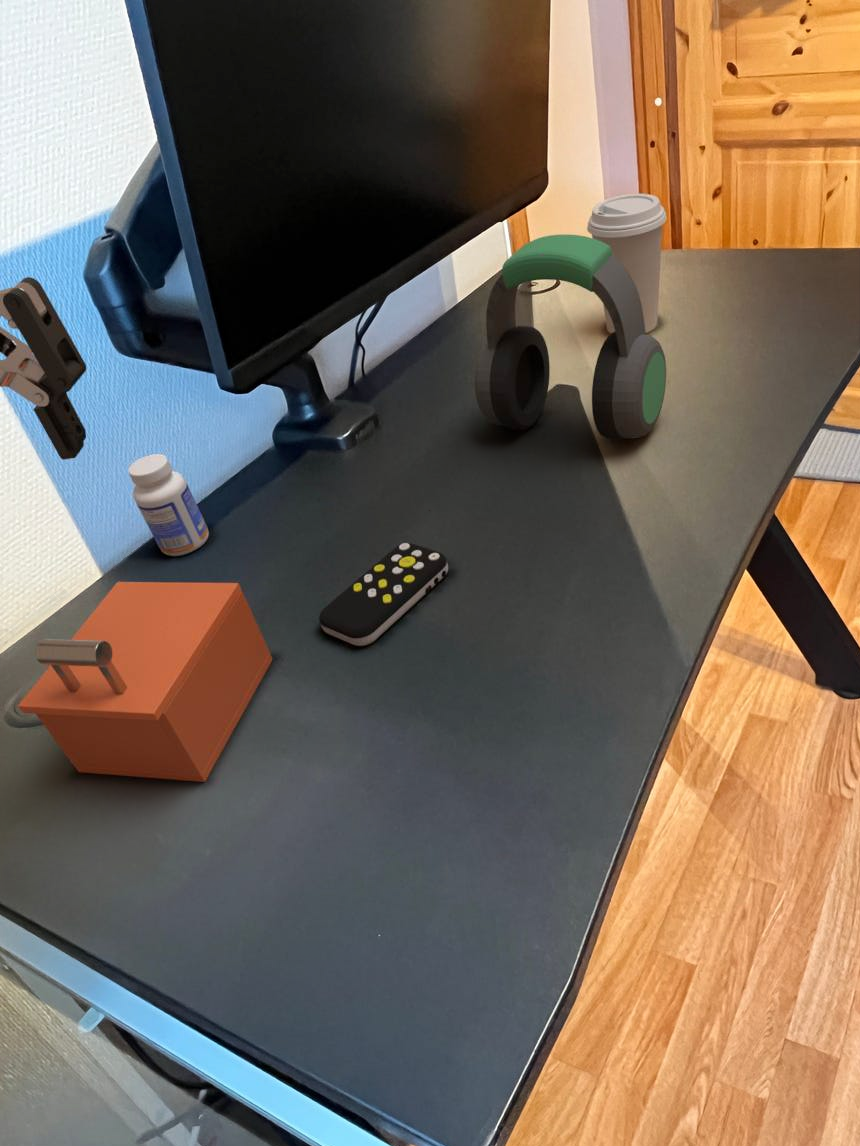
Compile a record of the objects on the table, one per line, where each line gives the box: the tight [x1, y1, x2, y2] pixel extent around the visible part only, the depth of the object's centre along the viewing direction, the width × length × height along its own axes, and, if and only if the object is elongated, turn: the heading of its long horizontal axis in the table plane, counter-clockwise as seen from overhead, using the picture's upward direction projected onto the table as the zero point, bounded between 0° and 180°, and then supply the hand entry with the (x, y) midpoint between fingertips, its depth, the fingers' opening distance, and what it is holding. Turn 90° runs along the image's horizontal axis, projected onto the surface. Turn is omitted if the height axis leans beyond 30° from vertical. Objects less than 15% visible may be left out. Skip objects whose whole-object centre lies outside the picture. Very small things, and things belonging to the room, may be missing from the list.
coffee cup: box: [586, 193, 668, 334], centre depth 109 cm, size 10×10×15 cm
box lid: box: [17, 581, 242, 721], centre depth 66 cm, size 14×12×5 cm
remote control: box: [318, 542, 449, 647], centre depth 79 cm, size 6×13×2 cm, turn 143°
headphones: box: [474, 234, 667, 441], centre depth 91 cm, size 19×11×20 cm, turn 63°
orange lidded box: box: [35, 590, 274, 783], centre depth 71 cm, size 14×12×8 cm
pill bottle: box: [127, 453, 210, 557], centre depth 90 cm, size 5×5×10 cm
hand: (13, 462), depth 56 cm, fingers open, 8 cm apart
